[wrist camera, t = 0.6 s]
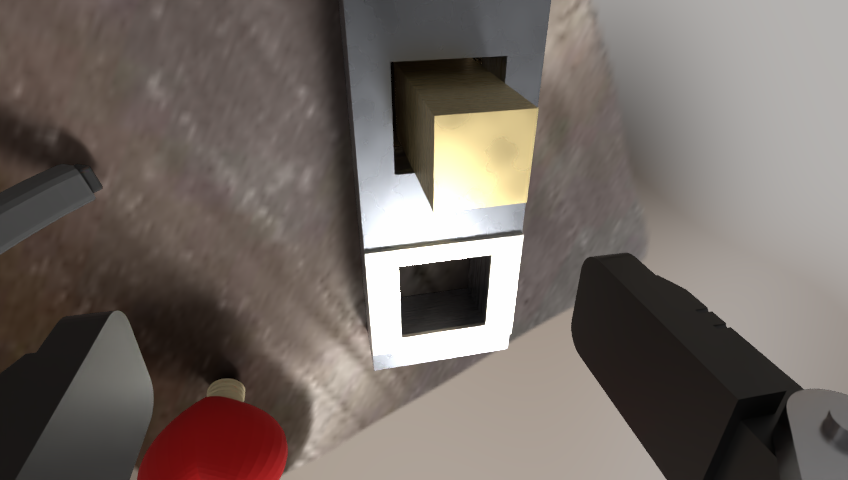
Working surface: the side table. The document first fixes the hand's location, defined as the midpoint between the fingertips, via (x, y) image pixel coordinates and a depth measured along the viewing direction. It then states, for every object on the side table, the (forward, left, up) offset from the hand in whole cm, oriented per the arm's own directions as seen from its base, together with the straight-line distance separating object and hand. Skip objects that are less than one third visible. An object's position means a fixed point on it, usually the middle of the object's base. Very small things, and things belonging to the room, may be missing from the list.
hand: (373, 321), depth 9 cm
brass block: (+2, +6, -22) cm, 23 cm away
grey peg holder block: (+8, +6, -22) cm, 24 cm away
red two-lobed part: (+23, -10, -22) cm, 34 cm away
